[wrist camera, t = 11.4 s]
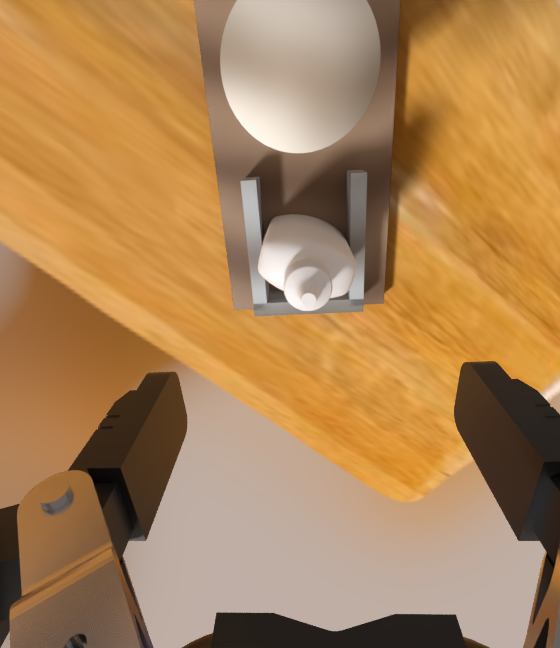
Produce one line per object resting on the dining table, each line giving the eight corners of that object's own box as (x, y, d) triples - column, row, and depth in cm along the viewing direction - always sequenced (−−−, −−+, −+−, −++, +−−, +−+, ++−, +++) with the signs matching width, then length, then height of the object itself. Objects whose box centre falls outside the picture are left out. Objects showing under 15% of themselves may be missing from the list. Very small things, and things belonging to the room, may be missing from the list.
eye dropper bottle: (311, 283, 30) (318, 366, 19) (257, 234, 28) (231, 293, 17) (353, 242, 28) (386, 307, 17) (297, 188, 27) (296, 221, 16)
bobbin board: (199, 6, 24) (140, -73, 15) (395, -14, 23) (455, -111, 14) (237, 302, 32) (213, 363, 23) (380, 296, 31) (411, 356, 23)
